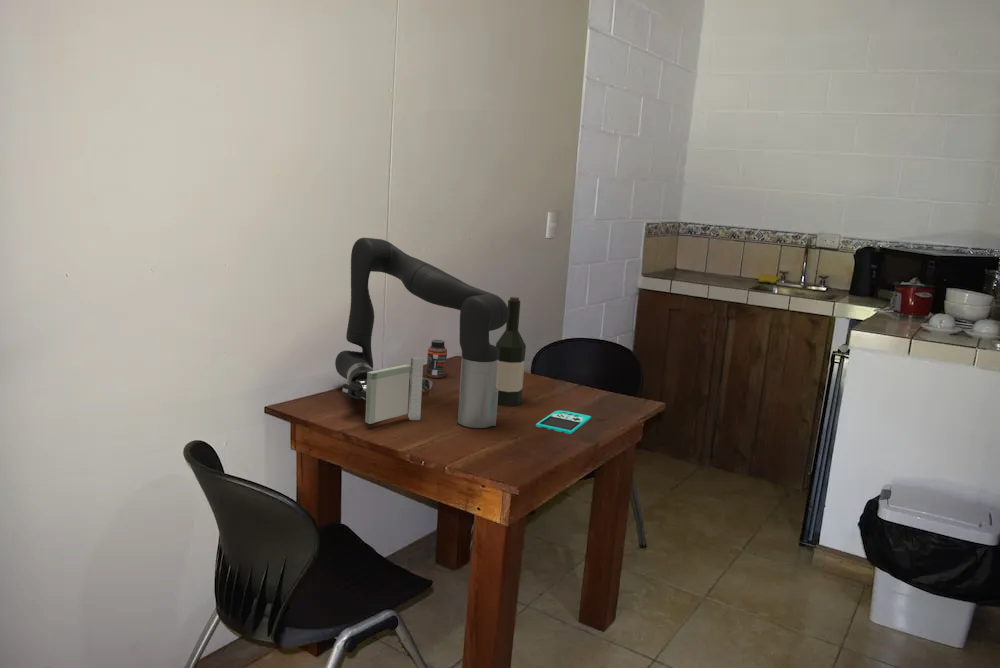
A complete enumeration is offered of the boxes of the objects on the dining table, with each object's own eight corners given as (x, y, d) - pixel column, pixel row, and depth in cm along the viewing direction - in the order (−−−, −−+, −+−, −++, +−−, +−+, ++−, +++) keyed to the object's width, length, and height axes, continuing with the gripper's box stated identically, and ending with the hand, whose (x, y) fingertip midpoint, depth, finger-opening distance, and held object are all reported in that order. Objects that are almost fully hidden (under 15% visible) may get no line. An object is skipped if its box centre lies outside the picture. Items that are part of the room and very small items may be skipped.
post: (418, 416, 201) (421, 356, 198) (420, 419, 199) (423, 359, 195) (408, 417, 200) (411, 356, 197) (410, 420, 198) (413, 359, 195)
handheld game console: (591, 420, 211) (592, 415, 210) (571, 436, 196) (572, 431, 196) (557, 413, 215) (557, 408, 214) (535, 428, 200) (535, 423, 200)
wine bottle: (492, 405, 215) (500, 299, 209) (491, 396, 224) (498, 294, 217) (522, 407, 216) (530, 301, 210) (520, 398, 224) (528, 296, 218)
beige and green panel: (403, 412, 199) (406, 364, 196) (408, 414, 198) (410, 365, 195) (365, 422, 189) (367, 372, 187) (369, 424, 188) (371, 373, 186)
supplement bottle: (438, 379, 237) (440, 343, 235) (422, 376, 240) (424, 340, 238) (449, 376, 242) (451, 340, 240) (433, 372, 245) (435, 337, 243)
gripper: (337, 366, 203) (345, 385, 187) (387, 365, 207) (399, 384, 191) (336, 393, 204) (344, 414, 188) (386, 392, 209) (398, 413, 193)
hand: (372, 399), depth 190 cm, fingers closed
